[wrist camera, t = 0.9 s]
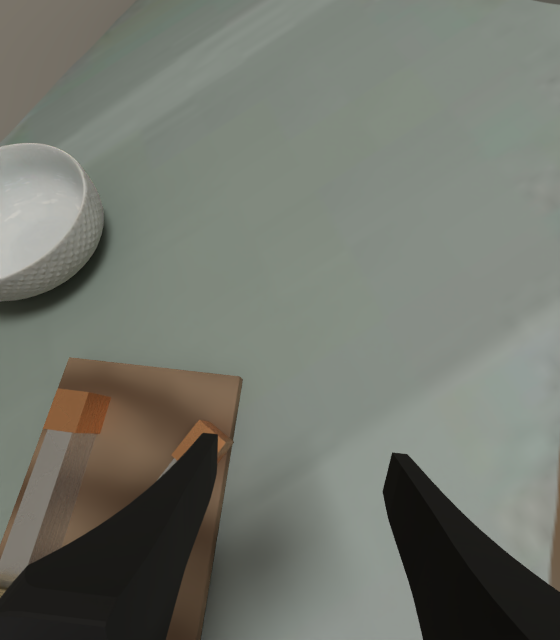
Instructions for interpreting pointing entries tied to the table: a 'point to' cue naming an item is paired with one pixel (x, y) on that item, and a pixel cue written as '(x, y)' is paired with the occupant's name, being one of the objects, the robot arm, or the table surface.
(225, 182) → the table surface
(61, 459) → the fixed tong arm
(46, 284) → the cereal bowl
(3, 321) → the table surface
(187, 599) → the board
